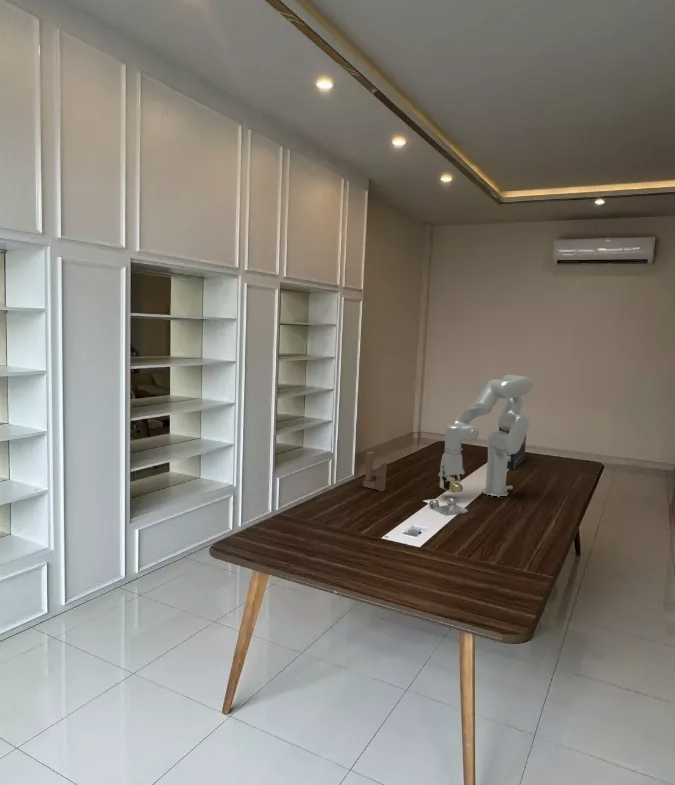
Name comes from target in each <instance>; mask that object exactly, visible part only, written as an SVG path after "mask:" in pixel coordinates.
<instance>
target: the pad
mask: <svg viewBox="0 0 675 785" xmlns="http://www.w3.org/2000/svg"><path fill="white" fill-rule="evenodd" d="M431 500H437V499H436V498H435V499H434V498H432V499H424V500H422V501H423V502H425V503H427V504H428V505H429V504H430V501H431ZM438 502H439V507H441V506H448V505H447V503H444V502H442V501H440V500H438Z"/></svg>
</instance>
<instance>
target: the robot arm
mask: <svg viewBox="0 0 675 785" xmlns="http://www.w3.org/2000/svg"><path fill="white" fill-rule="evenodd" d="M533 386H534V383H533V380H532V379H531V378H530V377H528V376H525V375H517V374H505V375H503V377H502V378H501V379H497V378H496V379H495V378H493V379H490V380H489V381H487V383H486V385H485V386H484V387H483V389H482V391H481V393H480V394H479V395H478V397H477V399H476V400H475V402H474V403H472V404H470V405H469V406H468V407H467V408H465V409H464V410H462V411H461V412H460V413H459V414H458V416H457V417H456V419H455V420H454V422H453V424H448V425H447V426H446V427H445V436H444V438H445V439H444V453H442V456H441V461H440V467H439V468H440V471H439V473H438V474H437V475H438V476H439V478H440V477H441V478H442V479H443V481H444V489H443V490H445V489H446V490H445V491H447V490H448V489H449V482H448V479H449V476H450V477H451V476H454V477H453V478H455V479H457V480H459V481H461V478H462V477H463V475H465V474H466V471H465V470H464V467H463V466H464V465H463V461H464V460H463V455H462V451H463V447H462V441H468V442H469V441H475V440H476V439H478V437H479V434H480V431H479V429H478V428H477V427H476V425H473V424H470V423H471V421H472V422H473V420H475V419H476V418H478V417H482V416H486V415H488V414H490V413H491V412H492V411H493V409H494V406H495V405H496V403H497V402H498V400H499V399H504V400H505V401H504V403H503V406H502V408H501V411H500V414H499V416H498V419H497V426H498V428H499V427H500V428H502V429H505V430H508V431H509V433H506V432H502V431H499V430H493V431H491V432H490V433H489V434H488V436H487V438H486V444H487V465H486V477H485V478H486V479H485V488H482V490H481V492H483V493H484V494H483V493H482V494H483V495H485V494H487V495H486V496H488V495H491V496H490V497H493V496H497V497H496V498H501V497H500V496H506V497H508V496H509V492H508V490H510V491H511V490H513V488H514V487H513V485H507V471H508V469H507V463H508V458H507V453H508V454H515V453H517V452H518V451H519V449H520V447H521V445H522V443H523V440H524V438H525V435H526V436H527V433H528V430H529V426H530V423H529V422H530V421H529V419H528V416H527V415H525V414H524V413H521V411H522V408H523V404H524V401H523V400H524V399H523V396H525V395H528V394H529V393H530V392H531V391H532V390H533ZM507 495H508V496H507Z"/></svg>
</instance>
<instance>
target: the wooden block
mask: <svg viewBox="0 0 675 785" xmlns="http://www.w3.org/2000/svg"><path fill="white" fill-rule="evenodd" d="M374 453H375V452H373V451H366V456H365V473H364V480H363V482H362V484H363V485H362V487H363V486H364V487H368V488H372V489H376V490H379V491H378V492H380V491H382V492H384V490H386V477H387V476H386V475H387V464H388V463H387V461H386V462H384V463H381V464H380V465H379V467H377V468H376V469H375V470H374V455H375V454H374ZM373 470H374V471H373ZM373 477H375V480H373ZM372 489H371V490H372ZM376 490H375V491H376Z"/></svg>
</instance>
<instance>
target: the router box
mask: <svg viewBox="0 0 675 785" xmlns="http://www.w3.org/2000/svg"><path fill="white" fill-rule="evenodd" d="M498 431H502V432H506V433H509V431H508V430H505V429H502V428H500V427H499V426H498ZM526 440H527V434H526V435H525V438H524V440H523V443H522V445H521V447H520V449H519V451H518V452H517V453H515V454H508V453H507V458H508V463H507V470H511V469H515V468H516V467H517V466H518V465H519V466H520V464H522V462H524V460H525V458H526V457H525V456H526V444H527V443H526V442H527V441H526ZM515 470H516V469H515Z"/></svg>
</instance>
